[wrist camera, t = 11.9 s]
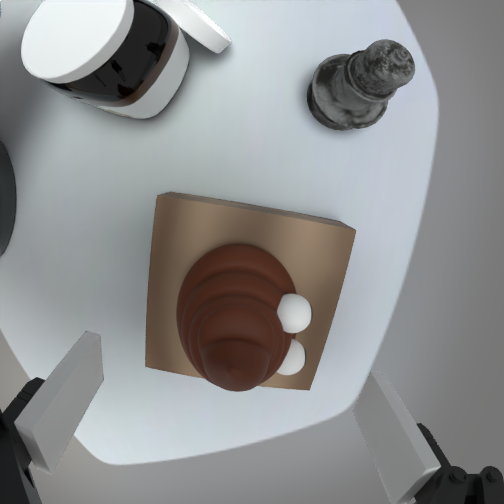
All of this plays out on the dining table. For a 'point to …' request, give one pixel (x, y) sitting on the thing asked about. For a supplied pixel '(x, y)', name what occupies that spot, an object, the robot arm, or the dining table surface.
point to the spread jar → (116, 50)
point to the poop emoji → (241, 317)
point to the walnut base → (249, 233)
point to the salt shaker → (359, 85)
